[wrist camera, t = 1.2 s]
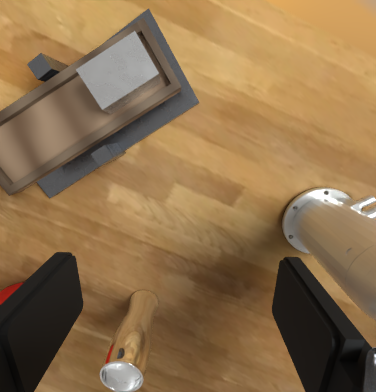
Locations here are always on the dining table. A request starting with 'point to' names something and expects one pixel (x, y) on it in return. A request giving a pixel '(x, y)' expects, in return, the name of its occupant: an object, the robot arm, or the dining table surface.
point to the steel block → (120, 74)
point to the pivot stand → (126, 135)
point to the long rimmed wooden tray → (70, 117)
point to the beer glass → (131, 345)
